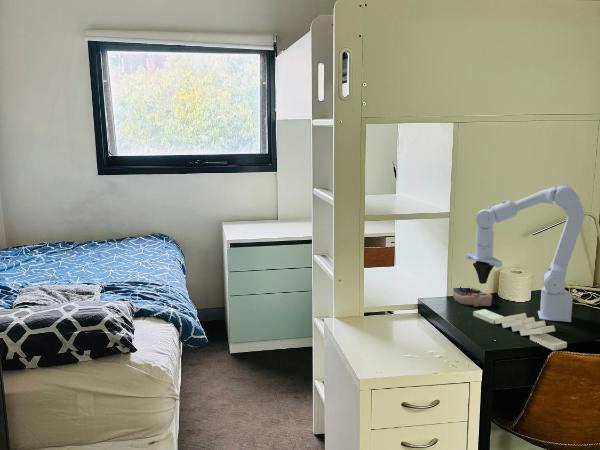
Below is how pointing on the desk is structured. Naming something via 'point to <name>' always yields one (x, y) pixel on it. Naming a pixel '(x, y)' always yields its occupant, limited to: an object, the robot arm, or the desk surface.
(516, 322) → the domino
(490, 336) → the desk surface
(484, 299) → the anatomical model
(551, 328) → the domino
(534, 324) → the domino
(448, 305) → the desk surface
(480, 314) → the domino
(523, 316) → the domino
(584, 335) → the desk surface
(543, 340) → the domino
